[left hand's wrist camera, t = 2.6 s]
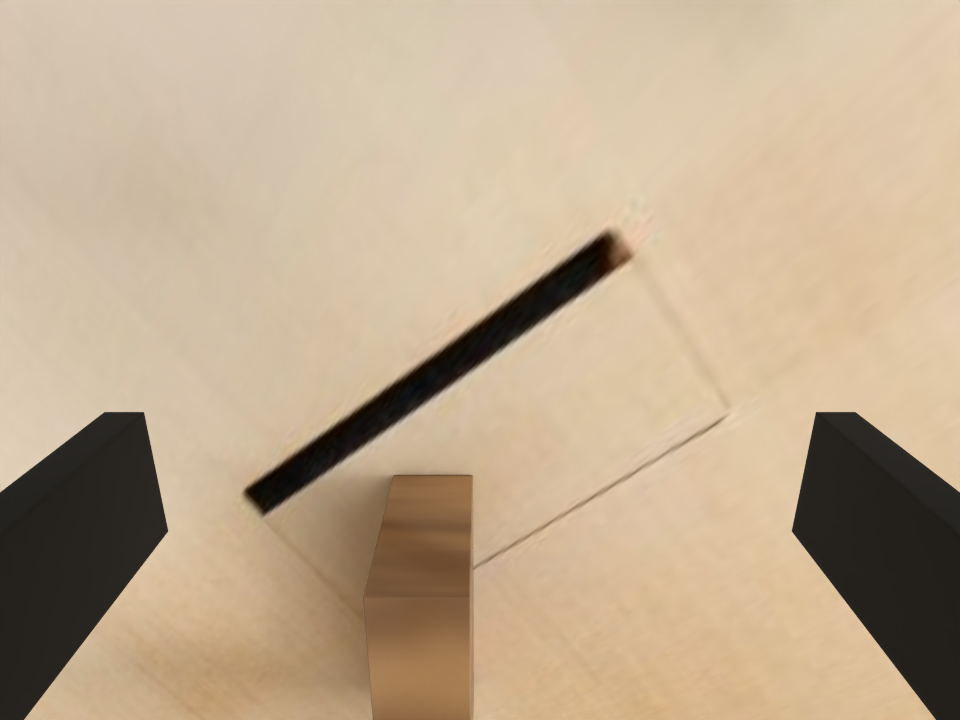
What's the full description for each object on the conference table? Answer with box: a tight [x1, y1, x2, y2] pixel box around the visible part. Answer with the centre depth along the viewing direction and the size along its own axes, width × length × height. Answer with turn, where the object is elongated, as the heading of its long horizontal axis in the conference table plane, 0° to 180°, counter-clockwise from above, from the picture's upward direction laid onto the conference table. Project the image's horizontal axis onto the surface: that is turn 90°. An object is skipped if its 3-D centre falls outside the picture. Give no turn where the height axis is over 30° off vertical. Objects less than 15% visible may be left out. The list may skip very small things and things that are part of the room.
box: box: [363, 475, 474, 720], centre depth 43 cm, size 20×6×13 cm, turn 0°
